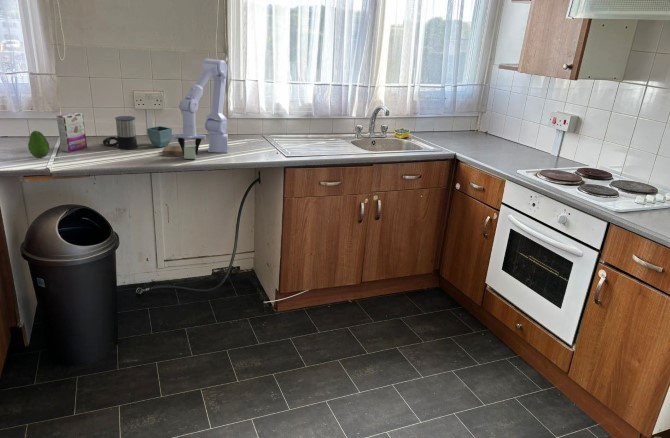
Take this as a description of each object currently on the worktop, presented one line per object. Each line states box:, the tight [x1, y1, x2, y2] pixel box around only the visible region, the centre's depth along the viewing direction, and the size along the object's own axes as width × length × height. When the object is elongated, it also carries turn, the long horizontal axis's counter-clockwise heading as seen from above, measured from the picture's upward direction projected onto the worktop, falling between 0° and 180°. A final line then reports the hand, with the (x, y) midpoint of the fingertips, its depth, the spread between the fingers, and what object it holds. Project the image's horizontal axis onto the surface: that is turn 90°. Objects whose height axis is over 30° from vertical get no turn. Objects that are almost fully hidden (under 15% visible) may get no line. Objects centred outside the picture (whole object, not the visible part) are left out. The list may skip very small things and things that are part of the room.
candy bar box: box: [56, 112, 88, 153], centre depth 235 cm, size 11×5×16 cm, turn 161°
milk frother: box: [102, 115, 139, 151], centre depth 245 cm, size 14×16×15 cm
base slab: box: [162, 145, 184, 158], centre depth 243 cm, size 10×10×2 cm
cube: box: [183, 145, 198, 160], centre depth 236 cm, size 5×5×5 cm
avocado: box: [27, 130, 50, 159], centre depth 219 cm, size 8×8×12 cm
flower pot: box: [146, 125, 173, 148], centre depth 253 cm, size 9×9×9 cm
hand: (190, 154), depth 237 cm, fingers closed on cube, 5 cm apart
